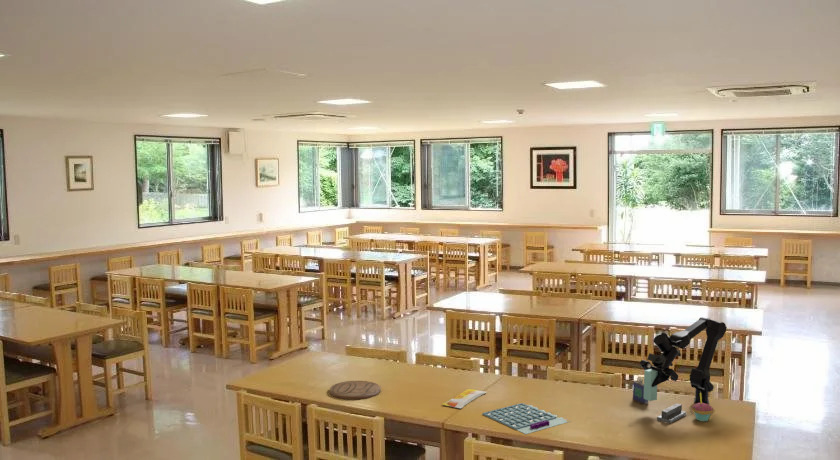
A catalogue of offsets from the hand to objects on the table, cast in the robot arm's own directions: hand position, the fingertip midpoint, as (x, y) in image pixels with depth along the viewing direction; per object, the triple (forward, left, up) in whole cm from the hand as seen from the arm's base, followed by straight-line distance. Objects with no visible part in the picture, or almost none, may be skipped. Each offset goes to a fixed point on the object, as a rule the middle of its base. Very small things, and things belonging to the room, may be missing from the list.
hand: (648, 385), depth 314 cm
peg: (-1, +1, -7) cm, 7 cm away
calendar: (+24, -50, -14) cm, 57 cm away
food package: (+10, -82, -14) cm, 84 cm away
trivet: (+18, -136, -14) cm, 138 cm away
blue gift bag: (-16, -4, -13) cm, 21 cm away
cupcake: (-1, +23, -13) cm, 27 cm away
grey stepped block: (+1, +10, -13) cm, 17 cm away
